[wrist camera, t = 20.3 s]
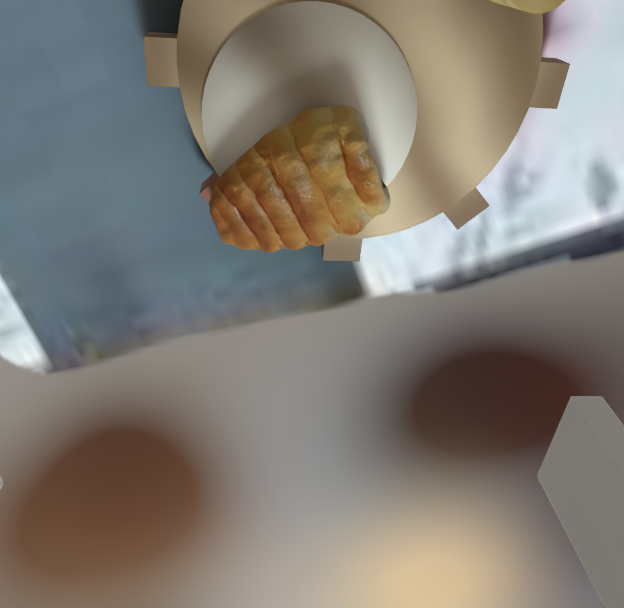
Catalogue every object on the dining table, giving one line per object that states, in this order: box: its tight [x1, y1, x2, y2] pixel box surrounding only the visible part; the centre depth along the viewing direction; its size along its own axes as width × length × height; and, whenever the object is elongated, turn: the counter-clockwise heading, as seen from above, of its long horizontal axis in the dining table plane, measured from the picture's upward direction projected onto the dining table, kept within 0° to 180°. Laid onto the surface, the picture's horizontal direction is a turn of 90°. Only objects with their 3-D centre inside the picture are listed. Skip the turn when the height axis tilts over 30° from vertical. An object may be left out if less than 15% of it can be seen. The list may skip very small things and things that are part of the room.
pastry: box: [209, 105, 390, 252], centre depth 29 cm, size 9×7×4 cm
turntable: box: [143, 0, 570, 261], centre depth 26 cm, size 21×21×9 cm
